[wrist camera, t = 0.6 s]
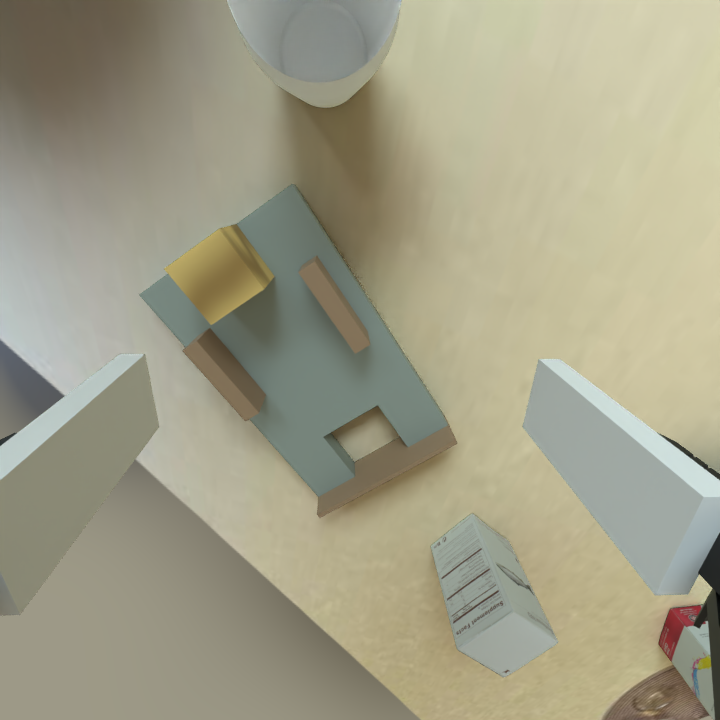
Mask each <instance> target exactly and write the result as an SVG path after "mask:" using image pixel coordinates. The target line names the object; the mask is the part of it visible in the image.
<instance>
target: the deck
mask: <svg viewBox="0 0 720 720" xmlns="http://www.w3.org/2000/svg"><path fill="white" fill-rule="evenodd" d="M237 225H238V227H239V228H240V230H241V231H242V232H243V234H244V235H245V236H246V238H247V239H248V241H249V242H250V243H251V245H252V246H253V247H254V249H255V250H256V251H257V253H258V254H259V256H260V257H261V258H262V260H263V261H264V262H265V264H266V265H267V267H268V268H269V269H270V271H271V272H272V273H273V275H274V276H275V277H274V278H273V279H272V280H271V282H270V283H269V284H268V285H267V286H266V288H265V289H264V290H262V291H261V292H259V293H258V294H256V295H255V296H253V297H252V298H250V299H249V300H248V301H246V302H245V303H243V304H242V305H240V306H239V307H237V308H236V309H234V310H233V311H231V312H230V313H228V314H227V315H225V316H224V317H223V318H221V319H220V320H218V321H217V322H215V323H214V324H212V325H211V324H210V323H209V322H208V321H207V320H206V318H205V317H204V316H203V315H202V314H201V313H200V311H199V310H198V309H197V308H196V307H195V305H194V304H193V303H192V302H191V301H190V299H189V298H188V297H187V296H186V295H185V293H184V292H183V291H182V290H181V289H180V287H179V286H178V285H177V284H176V283H175V281H174V280H173V279H172V278H171V277H170V276H169V274H167V275H166V276H164V277H163V278H162V279H160V280H159V281H157V282H156V283H155V284H153V285H152V286H151V287H149V288H148V289H146V290H145V291H144V292H142V293H141V294H140V296H141V297H142V299H143V300H144V301H145V302H146V303H147V304H148V305H149V306H150V308H151V309H152V310H153V311H154V312H155V313H156V314H157V315H158V317H159V318H160V319H161V320H162V321H163V322H164V323H165V325H166V326H167V327H168V328H169V329H170V330H171V331H172V332H173V334H174V335H175V336H176V337H177V338H178V339H179V340H180V341H181V343H182V344H183V345H184V346H185V347H186V348H185V349H184V350H183V352H184V353H185V354H186V355H187V356H188V358H189V359H190V360H191V361H192V362H193V363H194V364H195V365H196V366H197V368H198V369H199V370H200V371H201V372H202V373H203V374H204V375H205V377H206V378H207V379H208V380H209V381H210V382H211V383H212V384H213V385H214V387H215V388H216V389H217V390H218V391H219V392H220V393H221V394H222V396H223V397H224V398H225V399H226V400H227V401H228V402H229V403H230V405H231V406H232V407H233V408H234V409H235V410H236V411H237V412H238V413H239V415H240V416H241V417H242V418H243V419H244V420H245V421H247V420H249V419H250V420H251V421H252V423H253V424H254V425H255V426H256V427H257V428H258V429H259V430H260V432H261V433H262V434H263V435H264V436H265V437H266V438H267V440H268V441H269V442H270V443H271V444H272V445H273V446H274V447H275V449H276V450H277V451H278V452H279V453H280V454H281V455H282V456H283V458H284V459H285V460H286V461H287V462H288V463H289V464H290V465H291V467H292V468H293V469H294V470H295V471H296V472H297V473H298V474H299V476H300V477H301V478H302V479H303V480H304V481H305V482H306V483H307V485H308V486H309V487H310V488H311V489H312V490H313V491H314V493H315V494H316V495H317V496H318V510H317V515H318V516H319V517H320V518H321V517H322V516H324V515H326V514H328V513H330V512H332V511H334V510H335V509H337V508H339V507H341V506H343V505H345V504H347V503H348V502H350V501H352V500H354V499H356V498H358V497H359V496H361V495H363V494H365V493H367V492H369V491H371V490H372V489H374V488H376V487H378V486H380V485H382V484H383V483H385V482H387V481H389V480H391V479H393V478H395V477H396V476H398V475H400V474H402V473H404V472H406V471H407V470H409V469H411V468H413V467H415V466H417V465H419V464H420V463H422V462H424V461H426V460H428V459H430V458H431V457H433V456H435V455H437V454H439V453H441V452H443V451H444V450H446V449H448V448H450V447H452V446H454V445H456V444H457V441H456V439H455V437H454V435H453V433H452V431H451V428H450V426H449V424H448V422H447V420H446V418H445V416H444V415H443V413H442V411H441V410H440V408H439V407H438V405H437V404H436V402H435V401H434V399H433V398H432V396H431V394H430V393H429V391H428V390H427V388H426V387H425V385H424V384H423V382H422V380H421V379H420V377H419V376H418V374H417V373H416V371H415V370H414V368H413V367H412V365H411V363H410V362H409V360H408V359H407V357H406V356H405V354H404V353H403V351H402V349H401V348H400V346H399V345H398V343H397V342H396V340H395V339H394V337H393V336H392V334H391V332H390V331H389V329H388V328H387V326H386V325H385V323H384V322H383V320H382V318H381V317H380V315H379V314H378V312H377V311H376V309H375V308H374V306H373V305H372V303H371V301H370V300H369V298H368V297H367V295H366V294H365V292H364V291H363V289H362V287H361V286H360V284H359V283H358V281H357V280H356V278H355V277H354V275H353V274H352V272H351V270H350V269H349V267H348V266H347V264H346V263H345V261H344V260H343V258H342V256H341V255H340V253H339V252H338V250H337V249H336V247H335V246H334V244H333V243H332V241H331V239H330V238H329V236H328V235H327V233H326V232H325V230H324V229H323V227H322V225H321V224H320V222H319V221H318V219H317V218H316V216H315V215H314V213H313V212H312V210H311V208H310V207H309V205H308V204H307V202H306V201H305V199H304V198H303V196H302V194H301V193H300V191H299V190H298V188H297V187H296V185H294V184H291V185H290V186H288V187H287V188H286V189H284V190H283V191H282V192H280V193H279V194H277V195H276V196H275V197H273V198H272V199H271V200H269V201H268V202H266V203H265V204H264V205H262V206H261V207H260V208H258V209H257V210H255V211H254V212H253V213H251V214H250V215H248V216H247V217H246V218H244V219H243V220H242V221H240V222H239V223H237ZM377 405H378V406H379V408H380V409H381V411H382V412H383V413H384V415H385V416H386V418H387V419H388V420H389V422H390V423H391V424H392V426H393V427H394V429H395V430H396V431H397V433H398V434H399V436H400V437H399V438H397V439H396V440H394V441H392V442H390V443H388V444H387V445H385V446H383V447H381V448H379V449H378V450H376V451H374V452H372V453H371V454H369V455H367V456H365V457H363V458H362V459H360V460H358V461H356V462H354V461H353V460H352V459H351V458H350V456H349V455H348V454H347V453H346V451H345V450H344V449H343V448H342V446H341V445H340V444H339V443H338V441H337V440H336V439H335V438H334V436H333V435H332V434H331V432H332V431H334V430H336V429H338V428H339V427H341V426H343V425H344V424H346V423H348V422H350V421H351V420H353V419H355V418H356V417H358V416H360V415H362V414H363V413H365V412H367V411H368V410H370V409H372V408H374V407H375V406H377Z"/></svg>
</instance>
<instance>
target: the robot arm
mask: <svg viewBox="0 0 720 720" xmlns="http://www.w3.org/2000/svg"><path fill="white" fill-rule="evenodd" d="M158 428H159V424H158V418H157V413H156V408H155V403H154V398H153V393H152V387H151V382H150V377H149V372H148V367H147V362H146V357H145V354H119V355H118V356H117V357H115V358H114V359H113V360H112V361H110V362H109V363H108V364H106V365H105V366H104V367H103V368H101V369H100V370H99V371H97V372H96V373H95V374H93V375H92V376H91V377H90V378H88V379H87V380H86V381H84V382H83V383H82V384H80V385H79V386H78V387H77V388H75V389H74V390H73V391H71V392H70V393H69V394H67V395H66V396H65V397H64V398H62V399H61V400H60V401H58V402H57V403H56V404H54V405H53V406H52V407H51V408H49V409H48V410H47V411H45V412H44V413H43V414H42V415H40V416H39V417H38V418H36V419H35V420H34V421H32V422H31V423H30V424H29V425H27V426H26V427H25V428H23V429H22V430H21V431H20V432H18V433H13V434H11V435H9V436H7V437H5V438H3V439H1V440H0V615H20V614H21V613H22V612H23V610H24V609H25V608H26V606H27V605H28V604H29V602H30V601H31V600H32V598H33V597H34V596H35V594H36V593H37V592H38V590H39V589H40V587H41V586H42V585H43V583H44V582H45V581H46V579H47V578H48V577H49V575H50V574H51V573H52V571H53V570H54V569H55V567H56V566H57V564H58V563H59V562H60V560H61V559H62V558H63V556H64V555H65V554H66V552H67V551H68V549H69V548H70V547H71V545H72V544H73V543H74V541H75V540H76V539H77V537H78V536H79V534H80V533H81V532H82V530H83V529H84V528H85V527H86V525H87V524H88V522H89V521H90V520H91V518H92V517H93V516H94V514H95V513H96V512H97V510H98V509H99V507H100V506H101V505H102V503H103V502H104V501H105V499H106V498H107V497H108V495H109V494H110V493H111V491H112V490H113V489H114V487H115V486H116V484H117V483H118V482H119V480H120V479H121V478H122V476H123V475H124V474H125V472H126V471H127V469H128V468H129V467H130V466H131V464H132V463H133V461H134V460H135V459H136V457H137V456H138V455H139V453H140V452H141V451H142V449H143V448H144V447H145V445H146V444H147V443H148V441H149V440H150V438H151V437H152V436H153V434H154V433H155V432H156V430H157V429H158ZM523 428H524V429H525V431H526V432H527V433H528V434H529V436H530V437H531V438H532V440H533V441H534V442H535V443H536V445H537V446H538V447H539V448H540V450H541V451H542V452H543V453H544V455H545V456H546V457H547V459H548V460H549V461H550V462H551V464H552V465H553V466H554V467H555V469H556V470H557V471H558V473H559V474H560V475H561V476H562V478H563V479H564V480H565V481H566V483H567V484H568V485H569V487H570V488H571V489H572V490H573V492H574V493H575V494H576V495H577V497H578V498H579V499H580V501H581V502H582V503H583V504H584V506H585V507H586V508H587V509H588V511H589V512H590V513H591V515H592V516H593V517H594V518H595V520H596V521H597V522H598V523H599V525H600V526H601V527H602V528H603V530H604V531H605V532H606V534H607V535H608V536H609V537H610V539H611V540H612V541H613V542H614V544H615V545H616V546H617V548H618V549H619V550H620V551H621V553H622V554H623V555H624V556H625V558H626V559H627V560H628V562H629V563H630V564H631V565H632V567H633V568H634V569H635V570H636V572H637V573H638V574H639V576H640V577H641V578H642V579H643V581H644V582H645V583H646V584H647V586H648V587H649V588H650V589H651V591H652V592H653V593H654V595H681V594H688V593H689V592H690V590H691V588H692V586H693V584H694V582H695V581H696V579H697V577H698V575H699V574H700V575H701V576H702V577H703V578H704V579H705V580H706V582H707V583H708V584H709V585H710V586H711V587H712V588H713V589H712V591H711V592H710V594H709V596H708V597H707V599H706V601H705V603H704V604H703V606H702V608H701V610H700V611H699V613H698V615H697V617H696V618H695V621H694V624H693V626H695V627H697V628H699V629H700V627H701V626H702V624H703V622H705V621H708V628H709V642H710V656H711V670H712V684H713V698H714V712H715V720H720V474H719V473H717V472H716V471H715V470H713V469H712V468H708V465H706V464H705V463H704V462H702V461H701V460H700V459H698V458H697V457H694V456H693V454H692V453H690V452H689V451H688V450H686V449H685V448H684V447H682V446H681V445H680V444H678V443H677V442H675V441H673V440H671V439H669V438H667V437H665V436H663V435H661V434H659V433H657V432H655V431H654V430H653V429H651V428H650V427H649V426H647V425H646V424H645V423H643V422H642V421H641V420H639V419H638V418H637V417H636V416H634V415H633V414H632V413H630V412H629V411H628V410H626V409H625V408H624V407H622V406H621V405H620V404H618V403H617V402H616V401H614V400H613V399H612V398H610V397H609V396H608V395H607V394H605V393H604V392H603V391H601V390H600V389H599V388H597V387H596V386H595V385H593V384H592V383H591V382H589V381H588V380H587V379H585V378H584V377H583V376H581V375H580V374H579V373H578V372H576V371H575V370H574V369H572V368H571V367H570V366H568V365H567V364H566V363H564V362H563V361H562V360H560V359H539V360H538V364H537V368H536V373H535V377H534V381H533V385H532V389H531V393H530V398H529V402H528V406H527V410H526V414H525V419H524V423H523Z"/></svg>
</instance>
